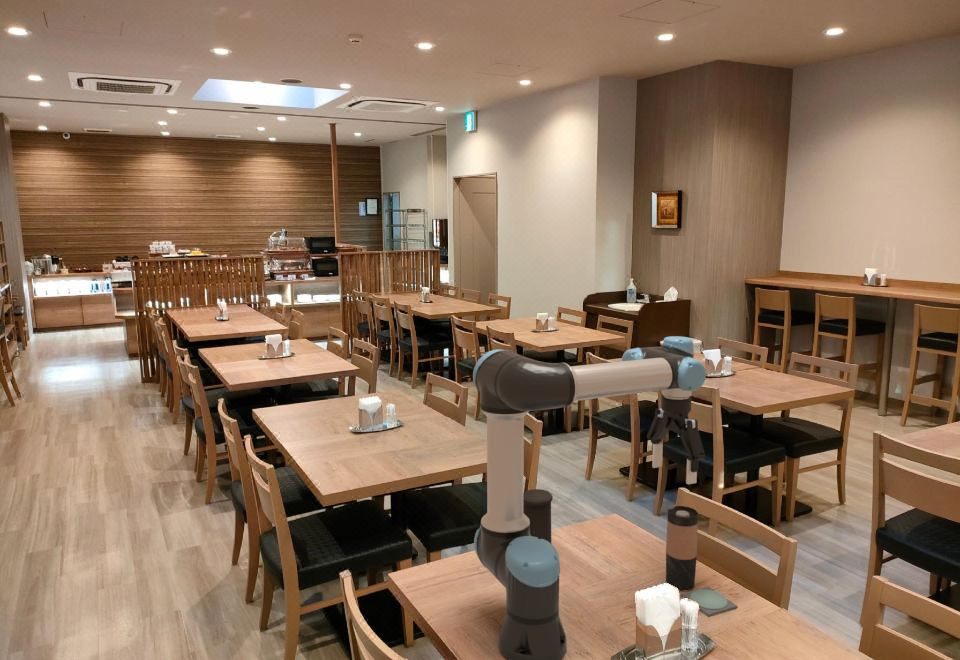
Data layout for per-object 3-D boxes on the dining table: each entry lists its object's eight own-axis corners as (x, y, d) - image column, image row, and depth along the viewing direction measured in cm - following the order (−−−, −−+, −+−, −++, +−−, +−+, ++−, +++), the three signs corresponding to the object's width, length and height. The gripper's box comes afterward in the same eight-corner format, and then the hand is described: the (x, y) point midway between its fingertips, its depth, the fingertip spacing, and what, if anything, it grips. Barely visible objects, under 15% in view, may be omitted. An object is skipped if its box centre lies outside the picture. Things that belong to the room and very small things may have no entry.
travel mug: (696, 592, 173) (699, 518, 171) (665, 590, 175) (668, 516, 172) (693, 578, 181) (696, 506, 178) (664, 575, 182) (666, 504, 179)
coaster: (708, 616, 163) (708, 612, 163) (680, 596, 172) (680, 592, 172) (737, 608, 166) (737, 604, 166) (708, 588, 175) (708, 585, 175)
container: (515, 557, 193) (515, 490, 190) (542, 550, 197) (543, 484, 194) (530, 570, 186) (530, 500, 183) (558, 563, 189) (559, 495, 186)
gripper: (722, 405, 166) (718, 488, 169) (657, 385, 189) (655, 458, 192) (698, 408, 163) (694, 493, 166) (635, 387, 186) (633, 462, 189)
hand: (673, 474), depth 179 cm, fingers open, 13 cm apart
